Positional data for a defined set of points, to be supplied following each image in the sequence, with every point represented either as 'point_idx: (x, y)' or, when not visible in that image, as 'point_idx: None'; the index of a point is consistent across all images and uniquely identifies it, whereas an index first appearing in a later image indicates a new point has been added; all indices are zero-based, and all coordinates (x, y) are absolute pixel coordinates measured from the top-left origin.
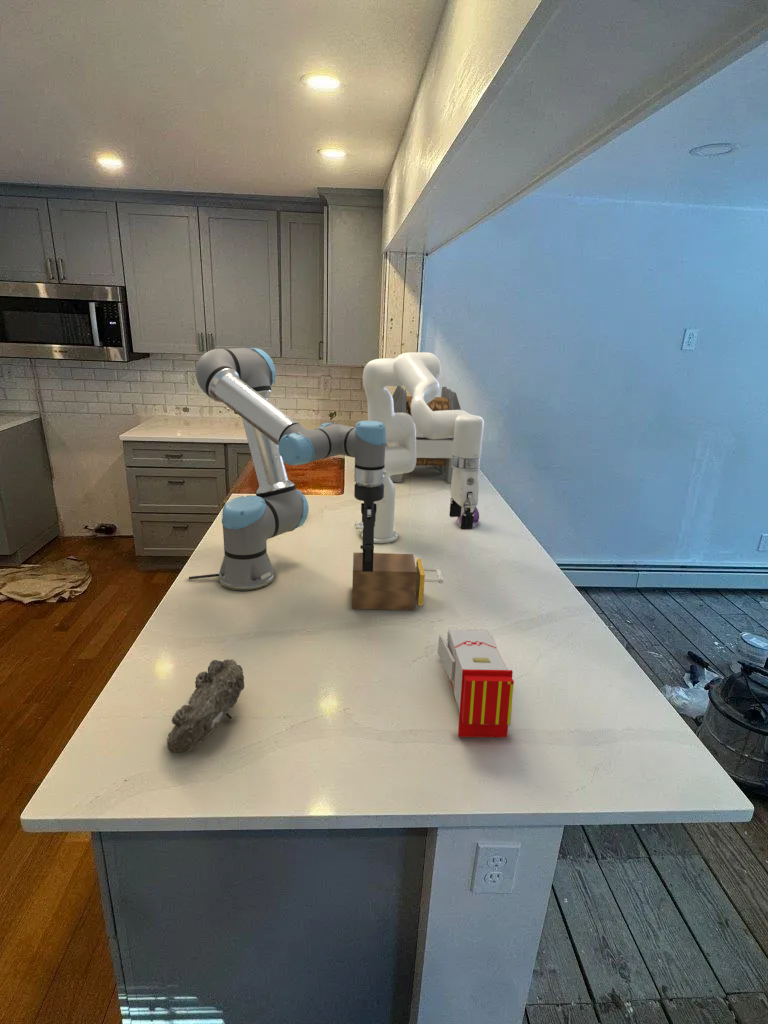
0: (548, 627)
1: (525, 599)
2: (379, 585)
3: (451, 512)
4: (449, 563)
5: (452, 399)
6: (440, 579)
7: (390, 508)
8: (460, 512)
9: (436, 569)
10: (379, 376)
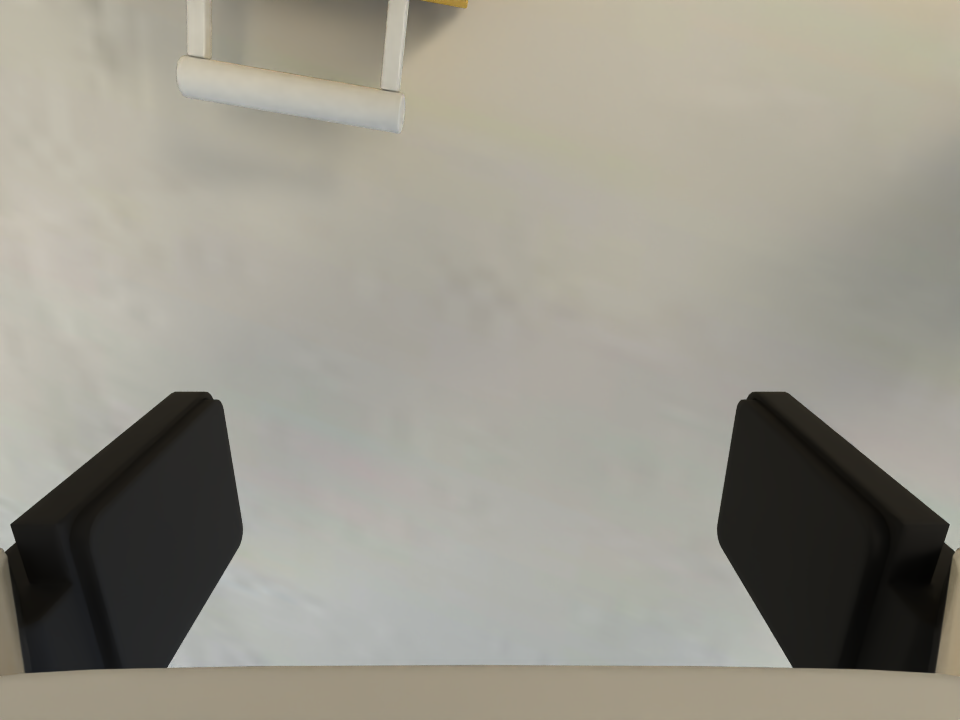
0: None
1: (337, 552)
2: None
3: (774, 440)
4: (796, 329)
5: None
6: (176, 68)
7: None
8: (743, 578)
9: (368, 92)
10: None
